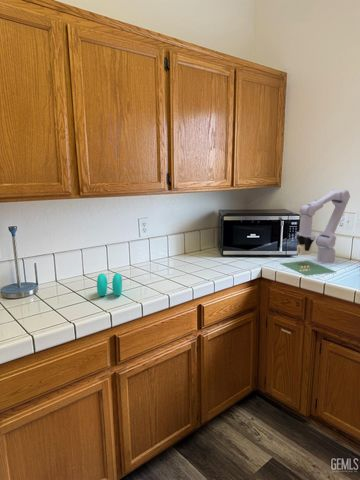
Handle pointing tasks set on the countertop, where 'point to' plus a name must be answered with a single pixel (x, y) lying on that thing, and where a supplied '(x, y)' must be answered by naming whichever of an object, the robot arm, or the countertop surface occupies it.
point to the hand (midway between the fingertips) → (304, 249)
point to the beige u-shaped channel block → (303, 249)
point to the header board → (307, 268)
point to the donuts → (103, 284)
